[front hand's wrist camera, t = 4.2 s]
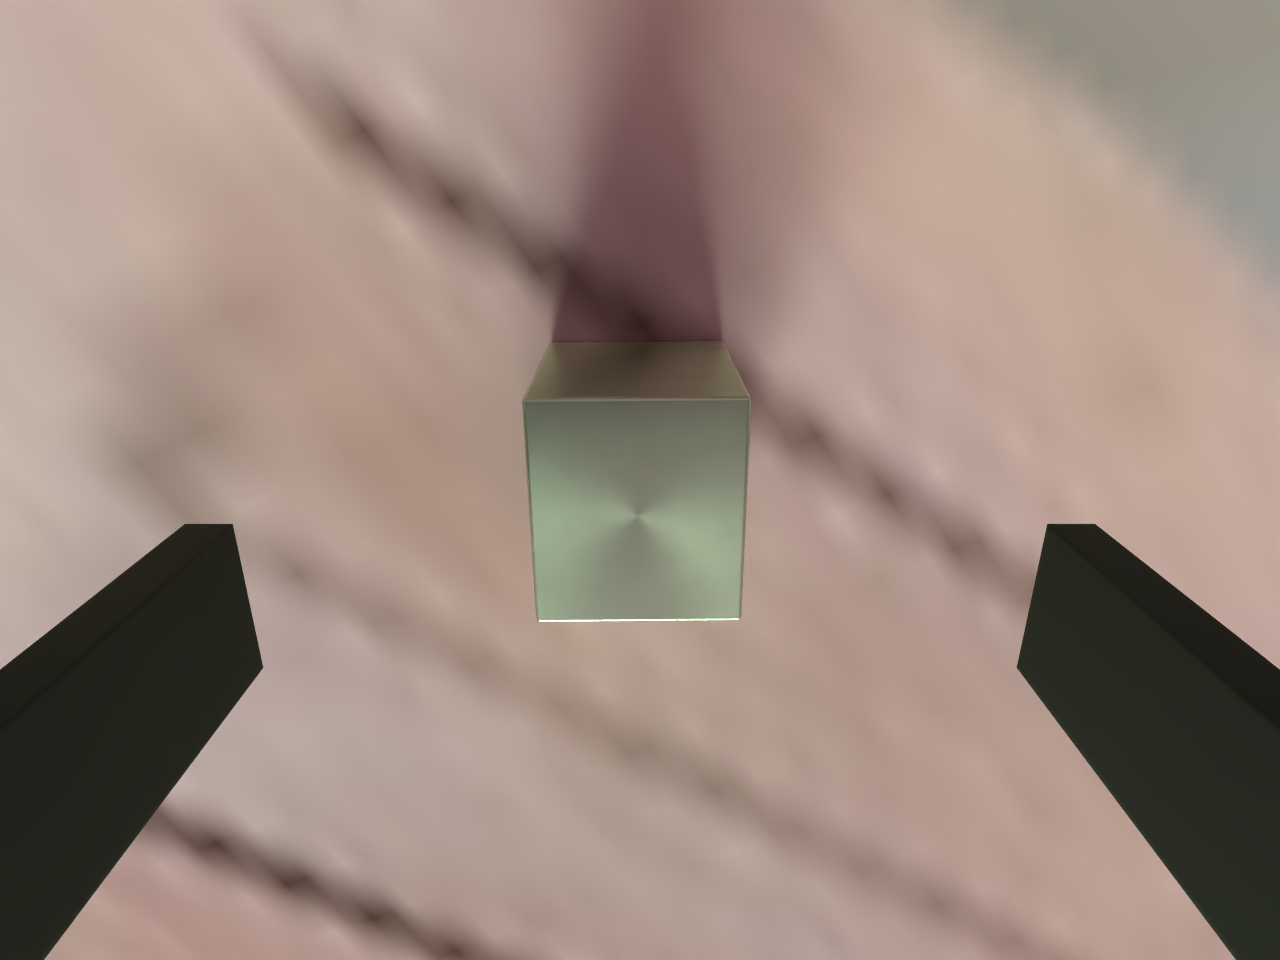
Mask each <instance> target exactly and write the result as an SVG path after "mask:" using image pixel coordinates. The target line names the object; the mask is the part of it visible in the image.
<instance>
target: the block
mask: <svg viewBox="0 0 1280 960" xmlns="http://www.w3.org/2000/svg"><path fill="white" fill-rule="evenodd" d="M522 407H523V422H524V437H525V452H526V468H527V483H528V498H529V513H530V528H531V543H532V559H533V574H534V589H535V604H536V618H537V620H538V621H539V622H584V621H700V620H740V618H741V609H742V588H743V566H744V545H745V524H746V502H747V481H748V459H749V438H750V416H751V398H750V395H749V393H748V391H747V389H746V387H745V385H744V383H743V381H742V379H741V377H740V375H739V373H738V371H737V369H736V367H735V365H734V363H733V361H732V359H731V357H730V355H729V353H728V351H727V348H726V346H725V344H724V342H723V341H648V342H552V343H550V345H549V347H548V349H547V351H546V353H545V355H544V357H543V359H542V361H541V363H540V365H539V367H538V369H537V371H536V373H535V376H534V378H533V380H532V382H531V384H530V386H529V388H528V390H527V392H526V394H525V396H524V398H523V401H522Z"/></svg>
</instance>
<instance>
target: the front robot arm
mask: <svg viewBox="0 0 1280 960" xmlns="http://www.w3.org/2000/svg"><path fill="white" fill-rule="evenodd" d="M262 669H263V664H262V660H261V655H260V650H259V646H258V641H257V636H256V632H255V627H254V622H253V618H252V613H251V608H250V603H249V599H248V594H247V589H246V585H245V580H244V575H243V571H242V566H241V561H240V557H239V552H238V547H237V542H236V538H235V533H234V528H233V524H184V525H183V526H182V527H181V528H179V529H178V530H177V531H176V532H174V533H173V534H172V535H171V536H169V537H168V538H167V539H165V540H164V541H163V542H162V543H160V544H159V545H158V546H157V547H155V548H154V549H153V550H151V551H150V552H149V553H148V554H146V555H145V556H144V557H143V558H141V559H140V560H139V561H138V562H136V563H135V564H134V565H132V566H131V567H130V568H129V569H127V570H126V571H125V572H124V573H122V574H121V575H120V576H118V577H117V578H116V579H115V580H113V581H112V582H111V583H110V584H108V585H107V586H106V587H105V588H103V589H102V590H101V591H99V592H98V593H97V594H96V595H94V596H93V597H92V598H91V599H89V600H88V601H87V602H85V603H84V604H83V605H82V606H80V607H79V608H78V609H77V610H75V611H74V612H73V613H72V614H70V615H69V616H68V617H66V618H65V619H64V620H63V621H61V622H60V623H59V624H58V625H56V626H55V627H54V628H53V629H51V630H50V631H49V632H47V633H46V634H45V635H44V636H42V637H41V638H40V639H39V640H37V641H36V642H35V643H33V644H32V645H31V646H30V647H28V648H27V649H26V650H25V651H23V652H22V653H21V654H20V655H18V656H17V657H16V658H14V659H13V660H12V661H11V662H9V663H8V664H7V665H6V666H4V667H3V668H2V669H0V960H44V959H45V958H46V956H47V955H48V954H49V952H50V951H51V950H52V948H53V947H54V946H55V944H56V943H57V942H58V940H59V939H60V938H61V936H62V935H63V934H64V932H65V931H66V930H67V928H68V927H69V926H70V924H71V923H72V922H73V920H74V919H75V918H76V916H77V915H78V914H79V912H80V911H81V910H82V908H83V907H84V906H85V904H86V903H87V902H88V900H89V899H90V898H91V896H92V895H93V894H94V892H95V891H96V890H97V888H98V887H99V886H100V884H101V883H102V882H103V880H104V879H105V878H106V876H107V875H108V874H109V872H110V871H111V870H112V869H113V867H114V866H115V865H116V863H117V862H118V861H119V859H120V858H121V857H122V855H123V854H124V853H125V851H126V850H127V849H128V847H129V846H130V845H131V843H132V842H133V841H134V839H135V838H136V837H137V835H138V834H139V833H140V831H141V830H142V829H143V827H144V826H145V825H146V823H147V822H148V821H149V819H150V818H151V817H152V815H153V814H154V813H155V811H156V810H157V809H158V807H159V806H160V805H161V803H162V802H163V801H164V799H165V798H166V797H167V795H168V794H169V793H170V791H171V790H172V789H173V787H174V786H175V785H176V783H177V782H178V781H179V779H180V778H181V777H182V775H183V774H184V773H185V771H186V770H187V769H188V767H189V766H190V765H191V763H192V762H193V761H194V759H195V758H196V757H197V755H198V754H199V753H200V751H201V750H202V749H203V747H204V746H205V745H206V743H207V742H208V741H209V739H210V738H211V737H212V735H213V734H214V733H215V731H216V730H217V729H218V727H219V726H220V725H221V723H222V722H223V721H224V719H225V718H226V717H227V715H228V714H229V713H230V711H231V710H232V709H233V707H234V706H235V705H236V703H237V702H238V701H239V699H240V698H241V697H242V695H243V694H244V693H245V691H246V690H247V689H248V687H249V686H250V685H251V683H252V682H253V681H254V679H255V678H256V677H257V675H258V674H259V673H260V671H261V670H262ZM1017 669H1018V670H1019V671H1020V673H1021V674H1022V675H1023V677H1024V678H1025V679H1026V681H1027V682H1028V683H1029V685H1030V686H1031V687H1032V689H1033V690H1034V691H1035V693H1036V694H1037V695H1038V697H1039V698H1040V699H1041V701H1042V702H1043V703H1044V705H1045V706H1046V707H1047V709H1048V710H1049V711H1050V713H1051V714H1052V715H1053V717H1054V718H1055V719H1056V721H1057V722H1058V723H1059V725H1060V726H1061V727H1062V729H1063V730H1064V731H1065V733H1066V734H1067V735H1068V737H1069V738H1070V739H1071V741H1072V742H1073V743H1074V745H1075V746H1076V747H1077V749H1078V750H1079V751H1080V753H1081V754H1082V755H1083V757H1084V758H1085V759H1086V761H1087V762H1088V763H1089V765H1090V766H1091V767H1092V769H1093V770H1094V771H1095V773H1096V774H1097V775H1098V777H1099V778H1100V779H1101V781H1102V782H1103V783H1104V785H1105V786H1106V787H1107V789H1108V790H1109V791H1110V793H1111V794H1112V795H1113V797H1114V798H1115V799H1116V801H1117V802H1118V803H1119V805H1120V806H1121V807H1122V809H1123V810H1124V811H1125V813H1126V814H1127V815H1128V817H1129V818H1130V819H1131V821H1132V822H1133V823H1134V825H1135V826H1136V827H1137V829H1138V830H1139V831H1140V833H1141V834H1142V835H1143V837H1144V838H1145V839H1146V841H1147V842H1148V843H1149V845H1150V846H1151V847H1152V849H1153V850H1154V851H1155V853H1156V854H1157V855H1158V857H1159V858H1160V859H1161V861H1162V862H1163V863H1164V865H1165V866H1166V867H1167V869H1168V870H1169V871H1170V873H1171V874H1172V875H1173V877H1174V878H1175V879H1176V880H1177V882H1178V883H1179V884H1180V886H1181V887H1182V888H1183V890H1184V891H1185V892H1186V894H1187V895H1188V896H1189V898H1190V899H1191V900H1192V902H1193V903H1194V904H1195V906H1196V907H1197V908H1198V910H1199V911H1200V912H1201V914H1202V915H1203V916H1204V918H1205V919H1206V920H1207V922H1208V923H1209V924H1210V926H1211V927H1212V928H1213V930H1214V931H1215V932H1216V934H1217V935H1218V936H1219V938H1220V939H1221V940H1222V942H1223V943H1224V944H1225V946H1226V947H1227V948H1228V950H1229V951H1230V952H1231V954H1232V955H1233V956H1234V958H1235V959H1236V960H1280V669H1278V668H1277V667H1276V666H1274V665H1273V664H1272V663H1271V662H1269V661H1268V660H1267V659H1266V658H1264V657H1263V656H1262V655H1260V654H1259V653H1258V652H1257V651H1255V650H1254V649H1253V648H1252V647H1250V646H1249V645H1248V644H1247V643H1245V642H1244V641H1243V640H1241V639H1240V638H1239V637H1238V636H1236V635H1235V634H1234V633H1233V632H1231V631H1230V630H1229V629H1227V628H1226V627H1225V626H1224V625H1222V624H1221V623H1220V622H1219V621H1217V620H1216V619H1215V618H1214V617H1212V616H1211V615H1210V614H1208V613H1207V612H1206V611H1205V610H1203V609H1202V608H1201V607H1200V606H1198V605H1197V604H1196V603H1195V602H1193V601H1192V600H1191V599H1189V598H1188V597H1187V596H1186V595H1184V594H1183V593H1182V592H1181V591H1179V590H1178V589H1177V588H1175V587H1174V586H1173V585H1172V584H1170V583H1169V582H1168V581H1167V580H1165V579H1164V578H1163V577H1162V576H1160V575H1159V574H1158V573H1156V572H1155V571H1154V570H1153V569H1151V568H1150V567H1149V566H1148V565H1146V564H1145V563H1144V562H1142V561H1141V560H1140V559H1139V558H1137V557H1136V556H1135V555H1134V554H1132V553H1131V552H1130V551H1129V550H1127V549H1126V548H1125V547H1123V546H1122V545H1121V544H1120V543H1118V542H1117V541H1116V540H1115V539H1113V538H1112V537H1111V536H1109V535H1108V534H1107V533H1106V532H1104V531H1103V530H1102V529H1101V528H1099V527H1098V526H1097V525H1096V524H1047V528H1046V533H1045V538H1044V542H1043V547H1042V552H1041V557H1040V561H1039V566H1038V571H1037V575H1036V580H1035V585H1034V589H1033V594H1032V599H1031V603H1030V608H1029V613H1028V618H1027V622H1026V627H1025V632H1024V636H1023V641H1022V646H1021V650H1020V655H1019V660H1018V664H1017Z"/></svg>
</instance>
